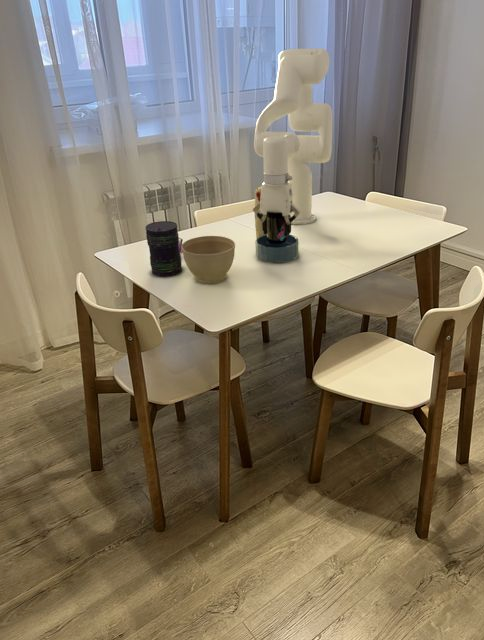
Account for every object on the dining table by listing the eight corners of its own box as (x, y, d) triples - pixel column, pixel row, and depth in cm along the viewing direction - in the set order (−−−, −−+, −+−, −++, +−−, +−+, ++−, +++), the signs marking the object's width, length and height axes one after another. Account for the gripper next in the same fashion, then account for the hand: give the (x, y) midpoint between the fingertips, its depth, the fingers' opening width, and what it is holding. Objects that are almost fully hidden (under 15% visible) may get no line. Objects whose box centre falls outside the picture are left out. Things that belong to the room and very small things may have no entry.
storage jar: (155, 265, 177) (148, 221, 169) (184, 265, 177) (179, 220, 169) (148, 277, 169) (141, 231, 161) (179, 277, 168) (174, 231, 160)
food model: (261, 246, 189) (260, 189, 179) (251, 241, 194) (248, 185, 184) (284, 240, 194) (283, 184, 184) (273, 235, 199) (272, 180, 188)
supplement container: (274, 246, 174) (273, 214, 169) (262, 240, 179) (261, 209, 174) (291, 241, 177) (291, 210, 172) (279, 236, 182) (278, 205, 177)
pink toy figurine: (167, 232, 185) (179, 239, 179) (180, 234, 188) (193, 240, 182) (163, 251, 187) (176, 258, 181) (176, 252, 191) (189, 259, 184)
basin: (264, 247, 189) (264, 231, 186) (303, 250, 185) (303, 235, 182) (250, 261, 178) (249, 245, 175) (291, 266, 173) (291, 249, 170)
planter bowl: (194, 292, 158) (190, 257, 152) (179, 273, 171) (175, 240, 165) (244, 282, 163) (243, 248, 158) (226, 264, 176) (224, 232, 170)
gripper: (305, 177, 168) (305, 232, 177) (254, 174, 174) (256, 228, 183) (299, 183, 162) (298, 240, 171) (245, 180, 168) (248, 235, 177)
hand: (276, 233), depth 177 cm, fingers closed on supplement container, 6 cm apart
